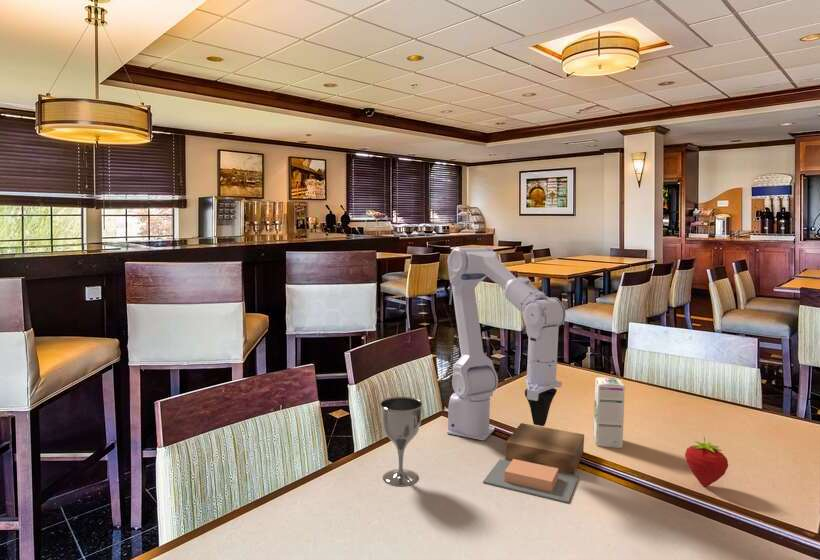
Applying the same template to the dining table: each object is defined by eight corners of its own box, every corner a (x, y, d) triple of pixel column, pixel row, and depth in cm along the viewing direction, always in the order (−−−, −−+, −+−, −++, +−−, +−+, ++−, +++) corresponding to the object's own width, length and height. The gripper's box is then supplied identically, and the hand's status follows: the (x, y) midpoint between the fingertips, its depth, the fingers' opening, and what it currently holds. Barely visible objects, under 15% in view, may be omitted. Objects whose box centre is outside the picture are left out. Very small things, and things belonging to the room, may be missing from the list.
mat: (483, 482, 102) (483, 481, 102) (500, 460, 111) (500, 458, 111) (568, 503, 95) (568, 501, 95) (578, 477, 104) (578, 475, 104)
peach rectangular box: (513, 458, 107) (512, 468, 107) (504, 471, 102) (504, 481, 102) (558, 468, 103) (558, 478, 103) (551, 481, 98) (551, 492, 98)
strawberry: (716, 499, 96) (720, 446, 95) (676, 482, 103) (679, 432, 102) (732, 490, 100) (736, 439, 99) (693, 474, 106) (696, 426, 105)
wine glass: (391, 491, 98) (391, 413, 97) (373, 473, 105) (374, 400, 104) (428, 481, 102) (429, 406, 100) (409, 465, 109) (410, 394, 107)
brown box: (505, 460, 111) (505, 442, 111) (520, 439, 122) (521, 423, 122) (573, 475, 105) (574, 455, 105) (583, 452, 116) (584, 434, 115)
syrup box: (623, 448, 118) (626, 385, 116) (595, 446, 119) (598, 383, 117) (618, 438, 123) (621, 378, 122) (591, 436, 125) (594, 376, 123)
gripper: (554, 370, 97) (551, 441, 99) (569, 353, 110) (566, 416, 112) (517, 365, 100) (514, 434, 102) (535, 349, 113) (533, 410, 115)
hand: (539, 424), depth 107 cm, fingers closed
